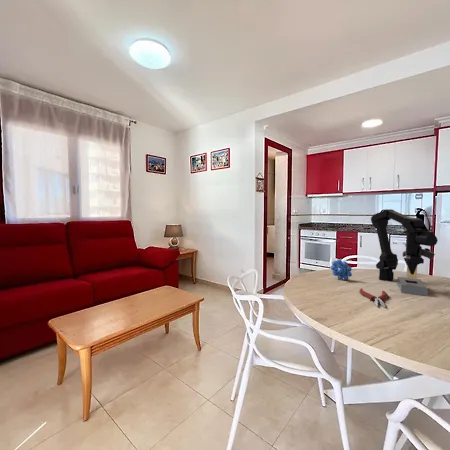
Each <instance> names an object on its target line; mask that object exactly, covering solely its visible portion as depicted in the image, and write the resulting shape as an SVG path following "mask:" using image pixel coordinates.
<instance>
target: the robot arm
mask: <svg viewBox="0 0 450 450" xmlns="http://www.w3.org/2000/svg"><path fill="white" fill-rule="evenodd" d="M390 220H393V221H395V222H396V223H397V222H398V223H399V224H401V226H402V227H403V228H404V229H406V230H404V231H403V232H402V233H403V235H404V234H406V237H405V238H406V240H405V241H406V242H405V243H406V244H404V245H405V246H404V247H405V250H404V251H403V252H402V258H403V260H404V262H405V264H406V266H407V265H408V268H409V270H410V273H411V274H414V272H415V270H416V267H417V268H418V265H420V264H424V263H425V262H424V261H425V258H427V259H429V260H431V261H432V260H433V259H434V257H435V255H436V254H435V252H432V251H431V249H430V248H428V247H434V246H436V245H437V244H438V237H437V236H436V234H434V232H435V231H429V229H428V228H427V225H426V224H425V223H424V220H423V219H422V218H417V217H411V216H407V215H406V214H402V213H401V212H398V211H396V210H395V209H391V208H389V209H387V208H386V209H383V210H382V211H379V212H377V213H375V214H373V215H372V216H371V218H370V222H371V224H372V226H373V227H374V228H375V230H376V233H377V238H378V243H379V248H380V255H379V261H378V262H377V263H376V264H375V267H376V269H378V270H379V271H378V280H379V281H386V282H393V280H394V274H395V273H394V271H393V270H397V267H398V264H399V260H398V255H397V253H393V251H392V249H391V242H390V239H389V235H388V230H387V227H388V224H389V221H390ZM423 246H427V247H426V248H422V247H423ZM423 257H424V258H423Z"/></svg>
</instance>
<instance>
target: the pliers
mask: <svg viewBox="0 0 450 450" xmlns="http://www.w3.org/2000/svg"><path fill="white" fill-rule="evenodd" d="M358 291H359V294H360V295H361V296H362V297H364V298H367V299H368V300H369V302H373V303H374V305H376V307H378V304H379V305H380V306H382V307H384V308H386V304H385V302H386V299H387V298H388V293H387V292H386V291H385V290H381V295H379V296H376V295H373V294H371V293H368V292H367V291H365V290H364V289H363V288H360V289H359V290H358Z"/></svg>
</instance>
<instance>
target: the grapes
mask: <svg viewBox="0 0 450 450" xmlns="http://www.w3.org/2000/svg"><path fill="white" fill-rule="evenodd" d="M331 264H332V265H331V266H330V269H331V271H332V275H333V276H335V277H337V279H339V280H340V279H341V280H343V279H344V280H345V281H347V280H349V278H350V277H352V276H353V272H351V271H352V270H353V269H352V266H350V265H348V262H347V261H345V260H343V261H342V260H341V259H339V258H338V259H336V260H332V262H331Z"/></svg>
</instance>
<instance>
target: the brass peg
mask: <svg viewBox="0 0 450 450" xmlns="http://www.w3.org/2000/svg"><path fill="white" fill-rule="evenodd" d="M417 274H418V266H417V267H416V270H415V272H414V274H411V273H410V270H409V268H408V265H406V278H413V279H418V277H417V276H418V275H417Z"/></svg>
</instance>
